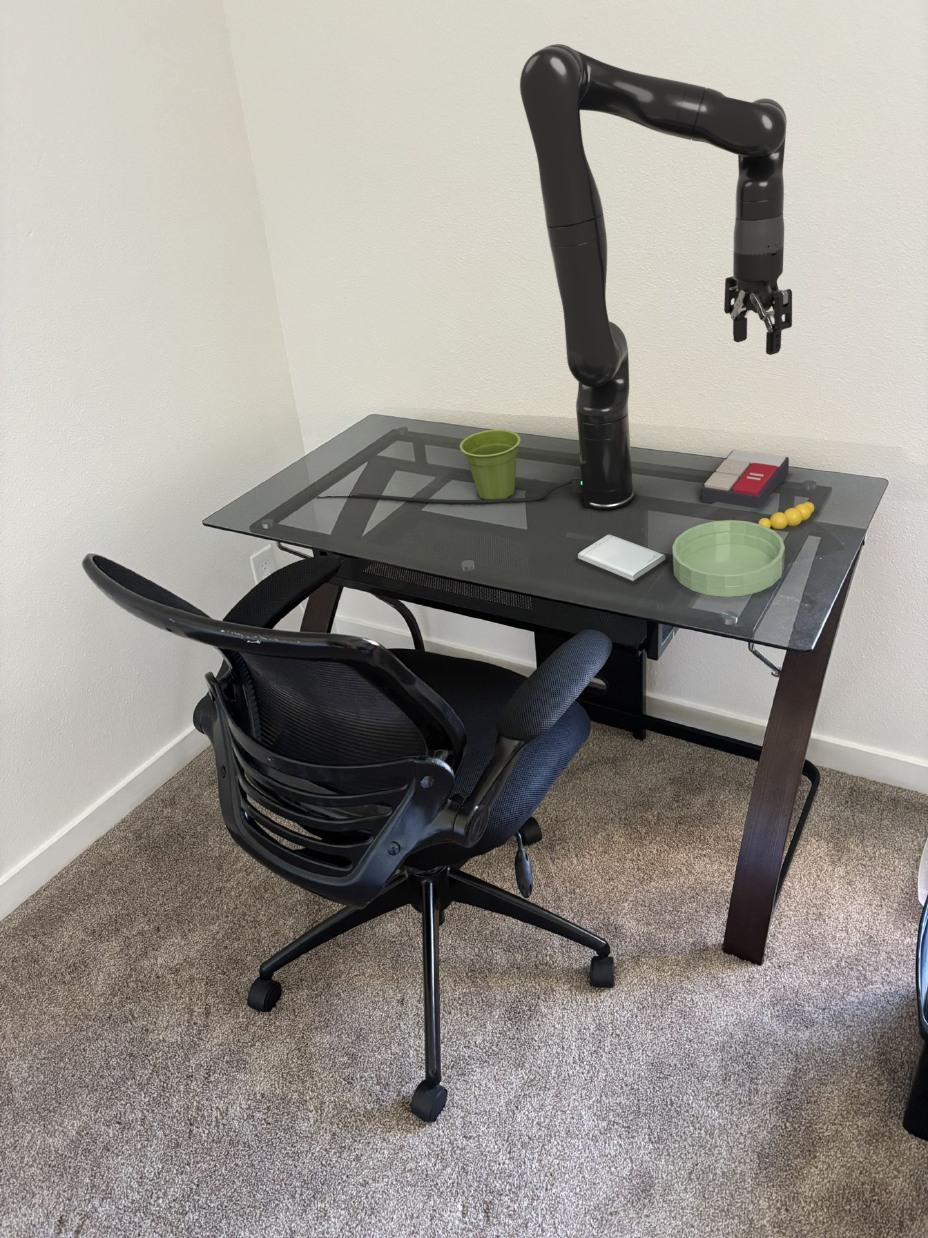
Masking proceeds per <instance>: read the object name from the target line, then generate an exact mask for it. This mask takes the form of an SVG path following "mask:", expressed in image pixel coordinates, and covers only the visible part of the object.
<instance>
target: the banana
mask: <svg viewBox="0 0 928 1238" xmlns="http://www.w3.org/2000/svg"><path fill="white" fill-rule="evenodd" d="M814 511H815V505H814V503H812V502H810V501H804V503H798V504H796V506H794V507H789V508H787V509H786V510H785V511H784V512H782V511H777V512H774V513H773V514H772V515H771V516H770V518H767V517H762V518H760V519H759V520H758V522H757V523H756V524H760V525H763V526H765V527H767V528H769V529H771V528H772V529H774V530H783V529H786V527H787V526H788V527H797V526H799V525H800V524H801V523H802V521H807V520H809V519H810V517H811V516H812V514H813V513H814Z"/></svg>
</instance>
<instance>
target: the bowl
mask: <svg viewBox="0 0 928 1238" xmlns="http://www.w3.org/2000/svg"><path fill="white" fill-rule="evenodd" d="M671 551H672V571H673V577H675V579H676V580H677V581H678V583H679V584H680V585H682V586H684V587H685V588H687V589H688V590H690V591H692V592H695V593H699V594H701V595H705V596H712V597H721V598H731V597H732V598H733V597H744V596H748V595H753V594H756V593H760V592H762V591H764V590H766V589H769V588H770V587H772V586H774V584H776V583H777V582H778V581H779V580H780V579H781V578H782V575H783V573H784V571H785V570H784V569H785V555H786V546H785V543H784V540H783V538H782V537H781V536H780V535H779V533H777V532H776V531H775V530H773V529H771V528H770V529H769V528H767V527H765V526H763V525H760V524H757V523H756V522H752V521H747V520H734V519H727V520H713V521H709V522H705V523H701V524H697V525H695V526H693V527H690V528H688V529H685V531H683V532H682V533H681V534H680V535H678V536H677V537H676V538H675V540H674V542H673V544H672V546H671Z"/></svg>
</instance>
